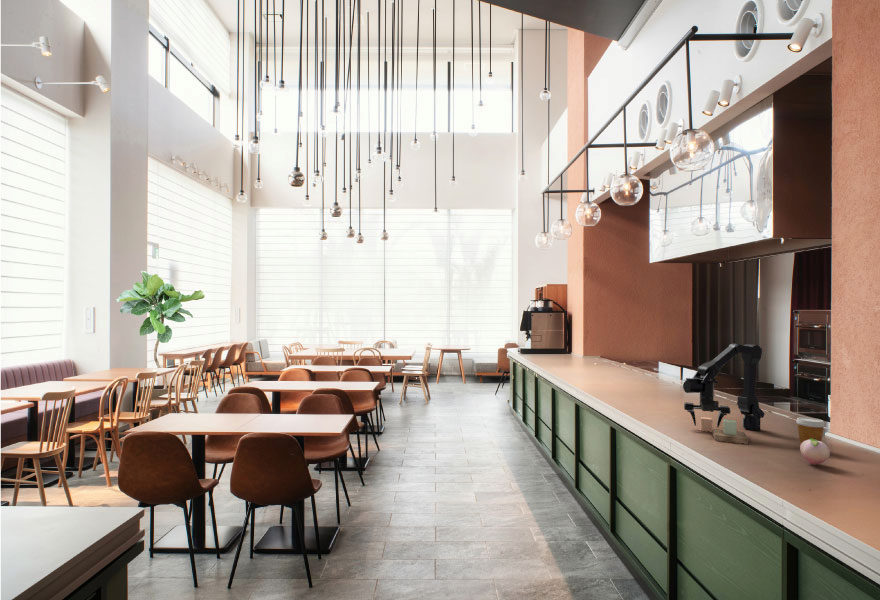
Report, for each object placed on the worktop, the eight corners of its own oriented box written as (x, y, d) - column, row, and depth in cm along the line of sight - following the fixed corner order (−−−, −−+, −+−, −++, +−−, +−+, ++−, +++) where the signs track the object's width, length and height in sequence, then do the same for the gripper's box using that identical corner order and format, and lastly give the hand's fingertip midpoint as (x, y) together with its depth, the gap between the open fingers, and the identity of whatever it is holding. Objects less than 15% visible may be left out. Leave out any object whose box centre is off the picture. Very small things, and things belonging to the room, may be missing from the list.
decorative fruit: (833, 470, 176) (834, 441, 176) (806, 467, 179) (806, 439, 179) (823, 462, 185) (824, 435, 185) (797, 460, 188) (797, 433, 188)
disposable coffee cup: (817, 453, 197) (817, 423, 197) (790, 447, 205) (790, 418, 205) (830, 451, 201) (830, 420, 201) (803, 445, 209) (803, 416, 210)
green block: (735, 432, 218) (735, 420, 218) (736, 435, 214) (736, 422, 214) (723, 431, 220) (723, 419, 220) (724, 433, 216) (724, 421, 216)
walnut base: (743, 437, 220) (743, 431, 220) (747, 444, 209) (748, 438, 209) (712, 434, 225) (712, 428, 225) (715, 440, 214) (715, 434, 214)
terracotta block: (711, 429, 234) (711, 418, 234) (712, 432, 230) (712, 419, 230) (700, 428, 236) (700, 417, 236) (701, 430, 232) (701, 418, 232)
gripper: (685, 393, 230) (684, 427, 230) (731, 397, 222) (731, 432, 222) (684, 390, 240) (683, 423, 240) (728, 393, 233) (728, 427, 232)
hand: (706, 426), depth 233 cm, fingers open, 9 cm apart
